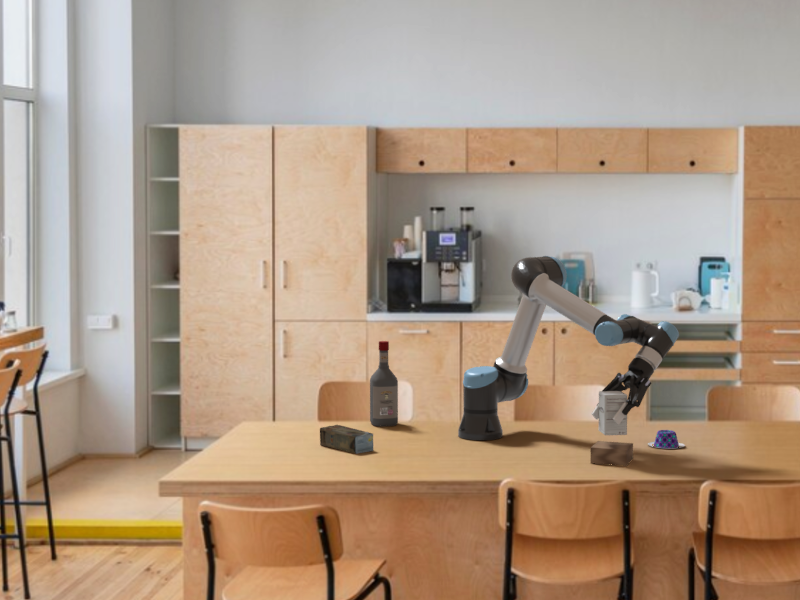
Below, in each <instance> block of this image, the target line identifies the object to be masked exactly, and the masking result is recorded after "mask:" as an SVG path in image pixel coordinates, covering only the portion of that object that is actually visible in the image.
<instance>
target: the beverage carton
mask: <svg viewBox="0 0 800 600" xmlns="http://www.w3.org/2000/svg"><path fill="white" fill-rule="evenodd" d="M319 440H320V441H319V444H320V446H323V447H327V448H331V449H335V450H339V451H343V452H346V453H347V452H348V453H352V454H355V455H356V454H358V455H359V454H361V453H362V454H363V453H368V452H373V451H374V433H371V432H368V431H364V430H360V429H357V428H352V427H348V426H344V425H340V424H335V425H329V426H324V427H323V426H322V427H319Z"/></svg>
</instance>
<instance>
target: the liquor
mask: <svg viewBox="0 0 800 600" xmlns="http://www.w3.org/2000/svg"><path fill="white" fill-rule="evenodd" d="M389 343H390V342H389V340H381V341H378V351H379V353H378V354H379V355H378V357H379V358H378V359H379V360H378V367H377V369H376V370H375V371H374V372H373V374H372V375H371V376H370V379H369V416H370V417H369V422H370V424H371V425H373V426H374V427H378V428H379V427H380V428H381V427H382V428H383V427H394V426H397V424H398V423H399V409H398V408H399V401H398V400H399V397H398V396H399V389H398V388H399V383H398V378H397V377H396V375H395V374H394V372H393V371H392V370H391V369H390V366H389V349H390V347H389V346H390V345H389Z"/></svg>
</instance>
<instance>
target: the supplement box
mask: <svg viewBox="0 0 800 600" xmlns="http://www.w3.org/2000/svg"><path fill="white" fill-rule="evenodd" d="M627 400H628V394H626V393H624V391H622V392H621V391H602V390H601V391H600V390H599V391H598V403H599V418H598V432H600V433H601V434H602V435H604V436H627V435H628V414H627V415H626V416H625V417H624V418H623V420H622V421H621V423H620V424H617V423H616V422H615V421H614V420H613V418H614V416H615V415H616V413H617V412H618V411H619V409H620V408H621V406H622V405H623V404H624V402H625V403H627V402H626V401H627ZM627 404H628V403H627Z"/></svg>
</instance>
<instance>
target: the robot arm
mask: <svg viewBox="0 0 800 600" xmlns="http://www.w3.org/2000/svg"><path fill="white" fill-rule="evenodd" d="M510 274H511V275H510V277H511V282H512V284H513V286H514V287H515V289H516V290H517V291H518V292H520V293H521V294H522V297H521V300H520V303H519V305H518V308H517V310H516V314H515V317H514V319H513V322H512V325H511V328H510V331H509V333H508V336H507V339H506V341H505V345H504V348H503V351H502V353H501V356H499V357H497V358H495V361H494V363H493V366H490V365H489V366H488V365H481V366H474V367H471V368H468V369H467V370H465V371H464V374H463V380H462V384H463V387H462V389H463V394H462V395H463V397H462V398H463V411H462V412H463V414H462V417H461V421H460V423H459V425H458V431H457V433H458V437H459V438H461V439H464V440H470V441H471V440H472V441H473V440H474V441H491V440H499V439H501V438H503V433H504V432H503V427H502V424H501V421H500V419H499V415H498V414H499V413H498V404H499V403H504V402H511V401H514V400H517V399H519V398H520V397H522V396H524V394H525V393H526V391H527V389H528V386H529V378H528V374H527V372H528V368H527V365H526V362H527V359H528V356H529V354H530V350H531V348H532V346H533V342H534V341H535V338H536V334H537V331H538V329H539V326H540V323H541V320H542V318H543V314H544V312H545V311H546V310H545V309H546V306H548V307H549V308H550V309H552V310H554V311H555V312H557V313H559V314H560V315H562V316H564V317H565V318H566V319H568V320H570V321H572V322H573V323H575V324H576V325H578V326H579V327H581V328H582V329H585V330H586V331H587V332H588V333H591V334H592V335H594V337H595V339H596V340H597V343H598V344H599V345H601V346H604V347H614V346H619V345H622V344H623V345H624V344H629V343H634V344H637V345H640V346H642V347H641V348H640V349H639V351H637V353H636V354H635V356H634V358H633V359H632V360H631V362H630V363H629V365H628V367H627V369H628V370H627V372H625V373H624V374H622V373H621V372H617V374H616V375H615V376H614V378H613V379H612V380H611V381H610V382H609V383H608V384H607V385H606V386H605V387H604V388H603V389H602V390H601V391H621V392H624V391H626V390H628V389H629V392H628V395H627V401H626V402H627V403H625V402H624V404H623V405H622V406H621V408H620V409H619V411H618V412H617V413H616V415H615V416H614V418H613V420H614V421H615V422H616V423H617V424H620V423H621V421H622V420H623V418H624V417H625V416H626V415H627V416H628V414H629V413H630V412H631V410H632V409H634V408H635V407H636V408H639V407H640V406H641V404H642V402H643V399H644V397H645V396H646V393H647V390H648V389H649V388H650V387H651V385H652V382H651V380H650V378H651V377H652V376H653V374H654V373H655V371H656V370H657V368H658V367H659V365H660V364H661V363H662V361H663V360H664V358H665V357H666V355H667V354H668V353H669V351H670V350H671V349H672V347H674V346H675V343H676V341H677V340H678V339H679V337H680V333H679V330H678V329H677V327H676V326H675V325H674V324H673V323H671V322H669V321H667V320H665V321H663V320H661V321H660V322H659V323H658V324H656V325H655V324H652V323H650V322H647V321H644V320H642V319H640V318H638V317H636V316H634V315H631V314H630V315H629V314H627V313H623V314H621V315H620V316H619V317H617V319H614V318H613V317H611V316H609V315H608V314H607V313H605V312H603V311H601V310H600V309H598V308H596V306H593V305H592V304H590V303H589V302H587V301H586V300H584V299H582V298H580V297H579V296H578V295H576V294H574V293H573V292H571V291H569V290H568V289H566V288H564V285H566V282H567V277H568V275H567V274H568V273H567V270H566V267H565V265H564V263H563V262H562V260H561V259H560V258H557V257H555V256H549V255H543V256H537V257H536V256H534V257H533V256H532V257H531V256H529V257H524V258H521V259H520V260H518V261H517V262H515V264H514V265H513V267H512V269H511V273H510ZM591 416H592V417H593V418H594V419H595V420H598V421H599V402H598V403H597V404H596V406H595V407H594V409H593V411H592V412H591Z"/></svg>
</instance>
